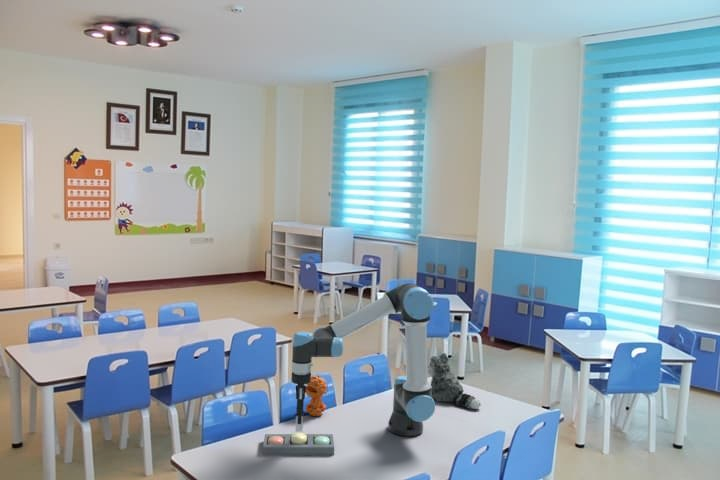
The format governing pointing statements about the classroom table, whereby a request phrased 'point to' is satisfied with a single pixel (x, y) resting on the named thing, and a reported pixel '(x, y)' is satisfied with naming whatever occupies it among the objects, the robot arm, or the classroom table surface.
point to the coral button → (275, 440)
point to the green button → (321, 440)
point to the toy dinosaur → (316, 395)
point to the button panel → (298, 446)
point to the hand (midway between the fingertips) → (299, 430)
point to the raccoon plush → (448, 384)
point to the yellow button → (298, 438)
